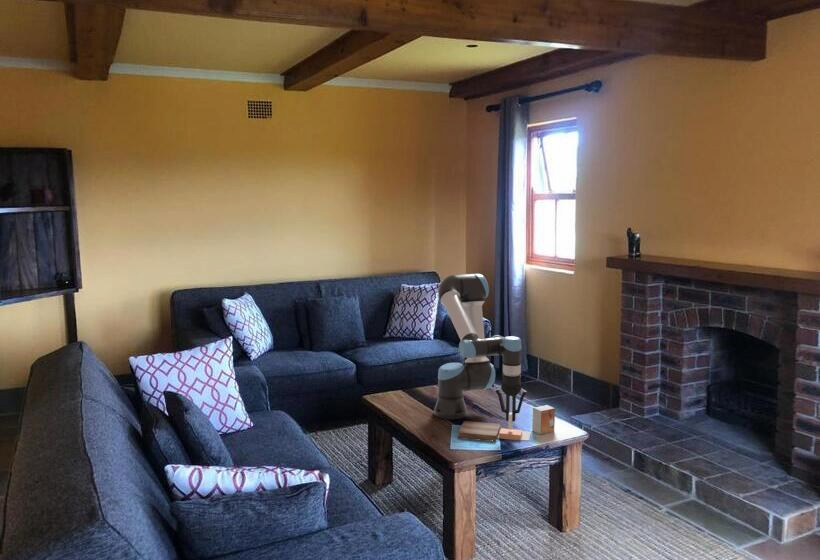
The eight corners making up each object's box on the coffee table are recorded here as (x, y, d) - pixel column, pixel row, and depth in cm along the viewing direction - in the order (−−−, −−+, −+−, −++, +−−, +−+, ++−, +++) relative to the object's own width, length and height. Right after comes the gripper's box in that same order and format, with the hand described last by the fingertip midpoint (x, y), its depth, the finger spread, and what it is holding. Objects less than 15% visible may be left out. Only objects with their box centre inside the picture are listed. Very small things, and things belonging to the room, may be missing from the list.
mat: (500, 429, 288) (500, 429, 288) (530, 432, 284) (530, 431, 284) (497, 438, 278) (497, 437, 278) (528, 441, 275) (528, 440, 275)
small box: (540, 435, 281) (540, 411, 280) (531, 430, 286) (532, 407, 285) (554, 431, 285) (555, 408, 284) (546, 427, 290) (546, 404, 289)
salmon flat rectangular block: (499, 437, 278) (499, 433, 277) (501, 432, 283) (501, 428, 283) (520, 439, 275) (520, 435, 275) (522, 434, 281) (522, 430, 281)
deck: (464, 426, 292) (464, 420, 291) (500, 429, 288) (500, 424, 287) (458, 437, 278) (458, 432, 278) (496, 441, 274) (496, 435, 274)
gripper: (494, 375, 274) (493, 430, 277) (526, 377, 270) (525, 432, 274) (497, 370, 281) (496, 423, 284) (528, 372, 278) (526, 426, 281)
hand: (510, 428), depth 279 cm, fingers closed
